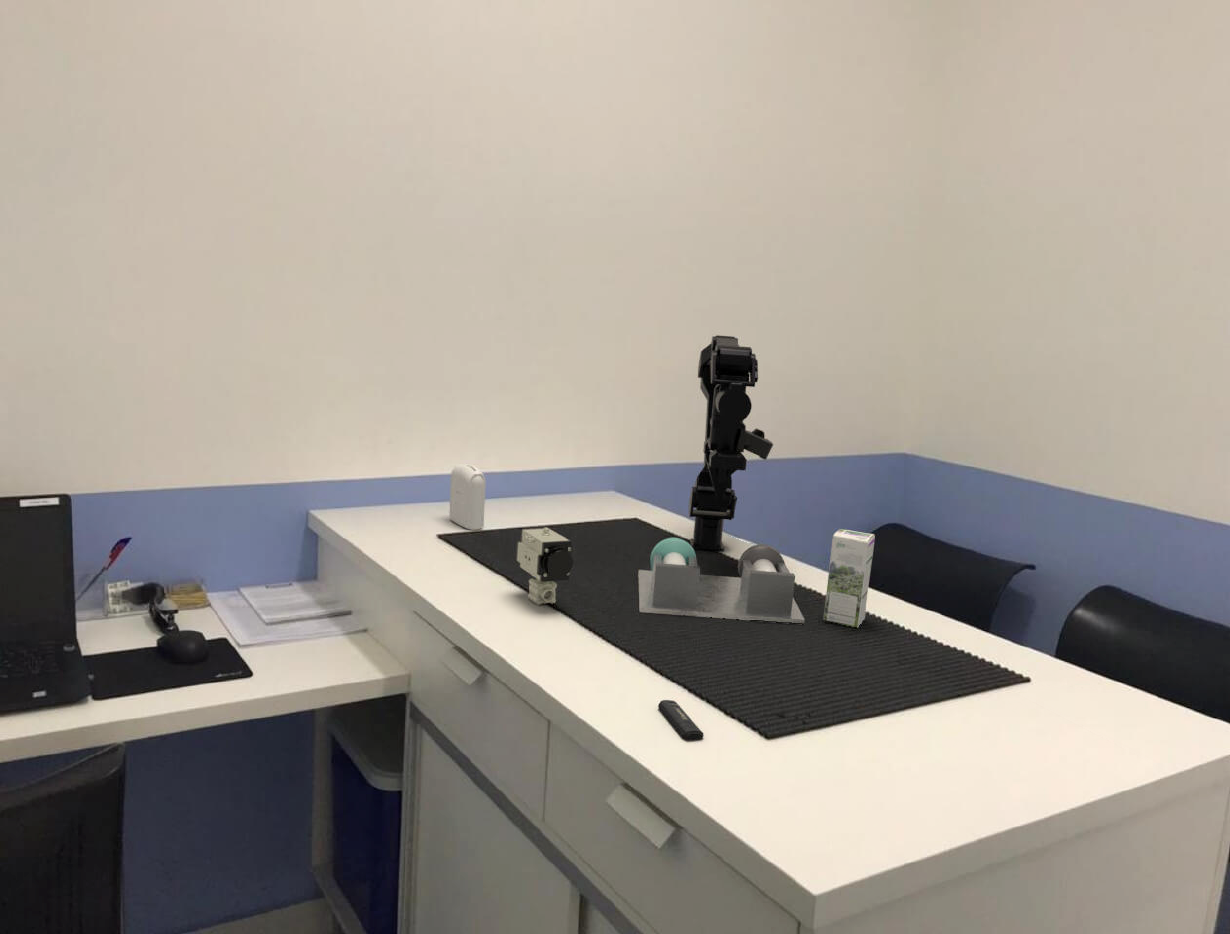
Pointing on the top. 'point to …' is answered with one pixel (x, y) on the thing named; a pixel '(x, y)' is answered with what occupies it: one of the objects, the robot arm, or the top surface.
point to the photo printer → (467, 496)
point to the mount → (718, 592)
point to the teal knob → (673, 551)
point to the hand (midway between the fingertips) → (719, 499)
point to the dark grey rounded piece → (761, 558)
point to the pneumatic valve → (544, 561)
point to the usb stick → (680, 720)
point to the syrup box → (848, 577)
